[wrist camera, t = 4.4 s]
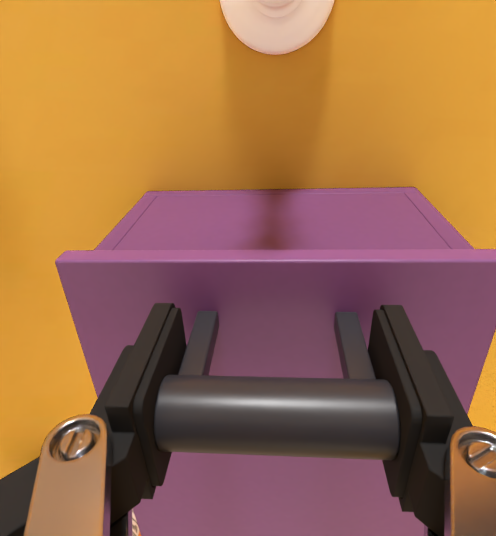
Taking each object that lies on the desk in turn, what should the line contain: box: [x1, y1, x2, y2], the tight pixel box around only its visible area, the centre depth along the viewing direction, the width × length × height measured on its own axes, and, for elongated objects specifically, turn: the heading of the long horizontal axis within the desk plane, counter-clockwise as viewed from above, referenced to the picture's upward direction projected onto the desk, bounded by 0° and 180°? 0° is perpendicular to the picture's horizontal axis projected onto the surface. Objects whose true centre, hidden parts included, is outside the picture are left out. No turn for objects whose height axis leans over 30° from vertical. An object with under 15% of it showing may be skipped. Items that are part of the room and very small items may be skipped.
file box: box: [94, 187, 474, 250], centre depth 21 cm, size 17×14×9 cm
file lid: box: [55, 249, 496, 536], centre depth 15 cm, size 18×14×6 cm
